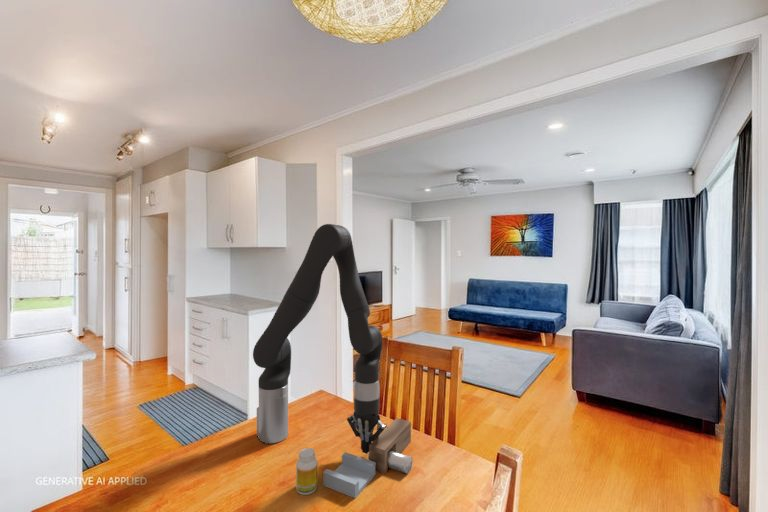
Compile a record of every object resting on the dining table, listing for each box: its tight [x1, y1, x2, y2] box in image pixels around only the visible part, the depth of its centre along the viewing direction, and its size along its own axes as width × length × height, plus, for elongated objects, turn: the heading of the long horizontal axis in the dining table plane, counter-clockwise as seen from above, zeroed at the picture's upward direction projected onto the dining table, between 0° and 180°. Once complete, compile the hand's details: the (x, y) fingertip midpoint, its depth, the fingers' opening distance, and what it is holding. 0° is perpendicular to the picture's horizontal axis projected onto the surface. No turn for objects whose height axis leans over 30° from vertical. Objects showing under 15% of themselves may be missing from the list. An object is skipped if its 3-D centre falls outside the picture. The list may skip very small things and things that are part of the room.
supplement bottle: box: [295, 447, 318, 496], centre depth 91 cm, size 5×5×10 cm
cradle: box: [322, 451, 377, 499], centre depth 94 cm, size 10×10×4 cm
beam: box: [368, 417, 412, 474], centre depth 106 cm, size 5×18×7 cm, turn 152°
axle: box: [367, 450, 413, 474], centre depth 100 cm, size 12×4×4 cm, turn 62°
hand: (366, 451), depth 104 cm, fingers closed
